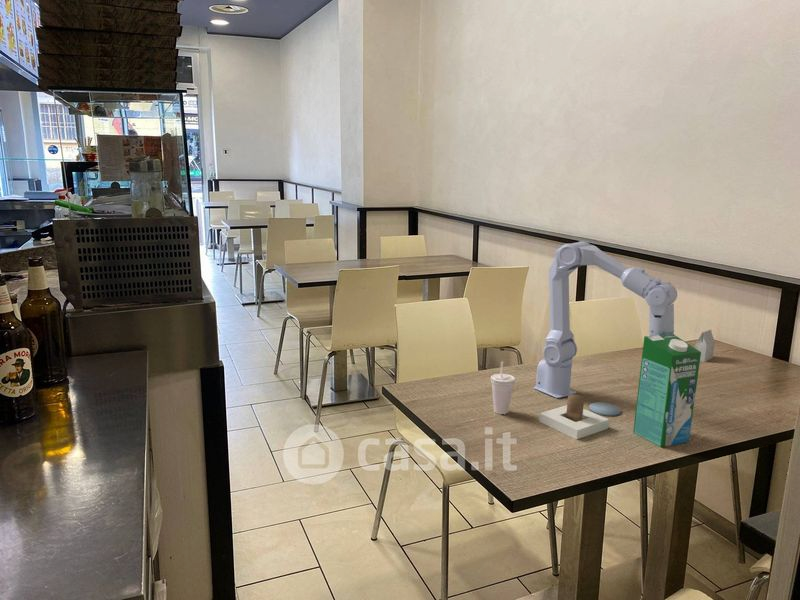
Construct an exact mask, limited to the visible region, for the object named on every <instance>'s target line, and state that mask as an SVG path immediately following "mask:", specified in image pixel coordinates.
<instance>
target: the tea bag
mask: <svg viewBox="0 0 800 600" xmlns="http://www.w3.org/2000/svg"><path fill="white" fill-rule="evenodd" d="M715 343H716V341H715V338H714V336H713V333H712V329H707V330H705V331H702V332H701V334H700V336H699V338H698V339H697V340H696V342H695V346H694V348H696V349H697V350H699V351H700V352H701V357H700V362H701V363H705V362H707V361H710V360H712V359H713V357H714V350H715Z"/></svg>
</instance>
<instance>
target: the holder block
mask: <svg viewBox="0 0 800 600" xmlns="http://www.w3.org/2000/svg"><path fill="white" fill-rule="evenodd" d="M566 411H567V404H566V405H562V406H559V407H556V408H552V409H549V410H546V411H543V412H539V423H541V424H543V425H544V426H547V427H549V428H552V429H553V428H554V430H556V431H558V432H559V433H562V434H564V435H566V436H568V437H570V438H571V439H572V438H573V439H574V440H580V439H581V438H584V437H588V436H590V435H593V434H596V433H600V432H602V431H605V430H608V429H609V425H610V424H609V423H610V419H609V418H607V417H604V416H603V415H599V414H596V413H593V412H592V411H591V410H588V409H585V408H583V417H582V420H581V421H578V422H574V421H572V420H570V419H567V418H566Z"/></svg>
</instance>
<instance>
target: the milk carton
mask: <svg viewBox="0 0 800 600" xmlns="http://www.w3.org/2000/svg"><path fill="white" fill-rule="evenodd" d="M700 357H701V352H700V351H699V350H697V349H696V348H695V346H692V345H691V344H689V343H688V342H687V341H684V339H681V338H680V337H678V336H677V335H676V334H675V333H674V334H673V333H668V334H660V335H652V336H649V335H646V336H643V343H642V352H641V363H640V372H639V377H638V378H639V379H638V386H637V387H638V389H637V397H636V405H635V414H634V415H635V416H634V425H633V431H632V432H633V433H634V434H636V435H637V436H639V437H641V438H643V439H645V440H647V441H649V442H651V443H652V444H654V445H656V446H658V447H660V448H665V447H670V446H674V445H678V444H684V443H687V442H689V441H690V435H691V429H692V422H693V421H692V420H693V415H694V407H695V398H696V392H697V387H698V386H697V385H698V378H699V377H698V376H699V370H700V363H701V361H700Z"/></svg>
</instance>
